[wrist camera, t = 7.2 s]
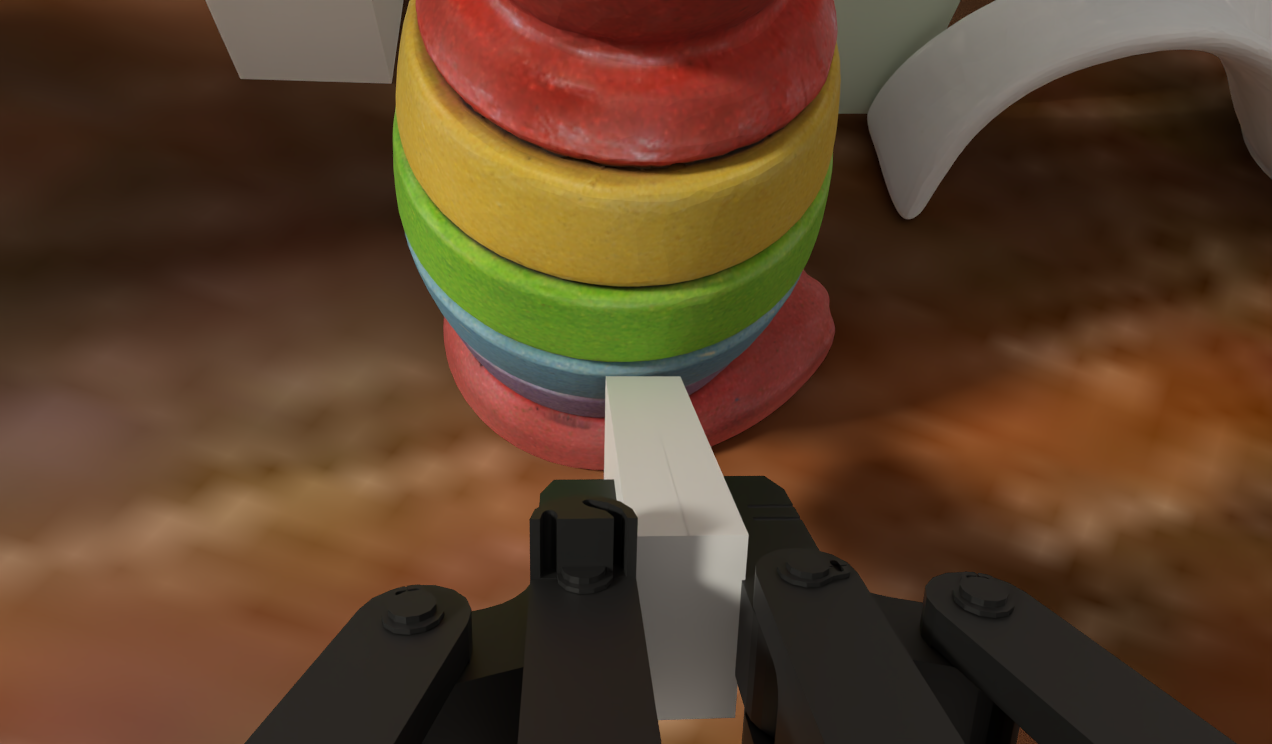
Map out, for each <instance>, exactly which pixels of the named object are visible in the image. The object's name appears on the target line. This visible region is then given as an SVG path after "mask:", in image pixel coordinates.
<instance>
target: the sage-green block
mask: <svg viewBox="0 0 1272 744" xmlns="http://www.w3.org/2000/svg"><path fill="white" fill-rule="evenodd" d="M960 1H961V0H834V4H835V9H836V17H837V28H838V32H837V46H838V51H839V56H840V77H841V83H840V102H839V112H838V114H868V111H869V109H870V107H871V105H872V103H873V101H874V99H875V97H876V96H877V94H878V93H879V91H880V90H881V88H882V87H883V86H884V84H885V83H886V82H887V81H888V80H889V78H890V77H891V76H892V75H893V74H894V73H895V71H896V70H897V69H898V68H899V67H900V66H901V65H902V64H903V63H904V62H905V61H906V60H907V59H908V58H910V57H911V56H912V55H913V54H914V53H915V52H916V51H918V50H919V49H920V48H921V47H923V46H924V45H925V44H926V43H928V42H929V41H930V40H932V39H933V38H934V37H936V36H937V35H939V34H940V33H942V32H943V31H944V30H946V29H947V27H948V25H949V23H950V21H951V19H952V17H953V15H954V13H955V11H956V9H957V7H958V5H959V3H960Z"/></svg>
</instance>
